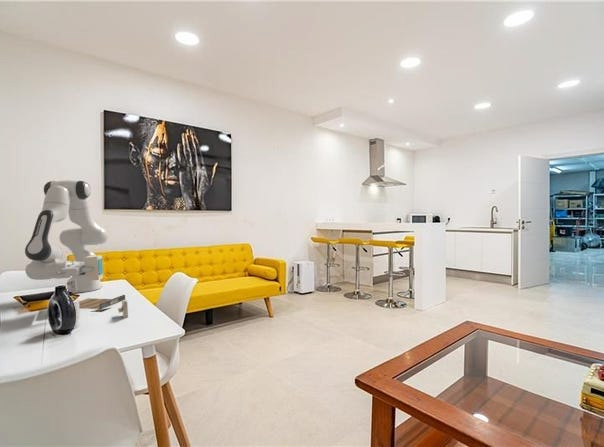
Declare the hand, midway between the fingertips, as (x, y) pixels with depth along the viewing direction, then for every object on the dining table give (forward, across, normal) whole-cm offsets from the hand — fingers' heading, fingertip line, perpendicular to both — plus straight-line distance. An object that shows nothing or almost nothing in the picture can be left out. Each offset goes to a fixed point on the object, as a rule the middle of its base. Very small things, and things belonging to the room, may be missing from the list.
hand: (95, 267), depth 163 cm
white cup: (+1, -32, +20) cm, 38 cm away
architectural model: (+20, -23, +20) cm, 37 cm away
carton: (-1, 0, +6) cm, 6 cm away
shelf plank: (-1, -1, +20) cm, 20 cm away
